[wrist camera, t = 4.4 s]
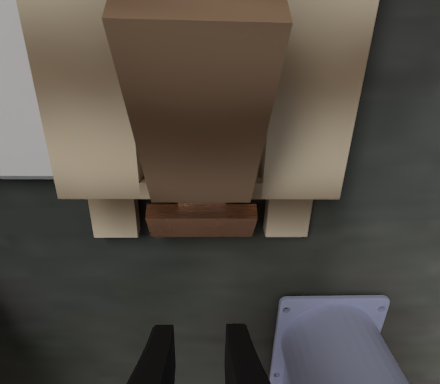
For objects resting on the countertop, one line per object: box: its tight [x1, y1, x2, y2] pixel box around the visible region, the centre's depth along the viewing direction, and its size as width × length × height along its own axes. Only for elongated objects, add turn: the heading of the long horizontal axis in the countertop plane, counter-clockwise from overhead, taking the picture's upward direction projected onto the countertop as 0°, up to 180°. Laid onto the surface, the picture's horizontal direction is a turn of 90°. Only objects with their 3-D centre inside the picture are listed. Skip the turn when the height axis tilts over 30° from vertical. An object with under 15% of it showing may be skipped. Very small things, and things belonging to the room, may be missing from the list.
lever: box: [145, 203, 258, 237], centre depth 14 cm, size 15×6×2 cm
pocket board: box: [16, 0, 379, 238], centre depth 16 cm, size 17×13×4 cm
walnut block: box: [102, 0, 293, 203], centre depth 11 cm, size 8×4×2 cm
